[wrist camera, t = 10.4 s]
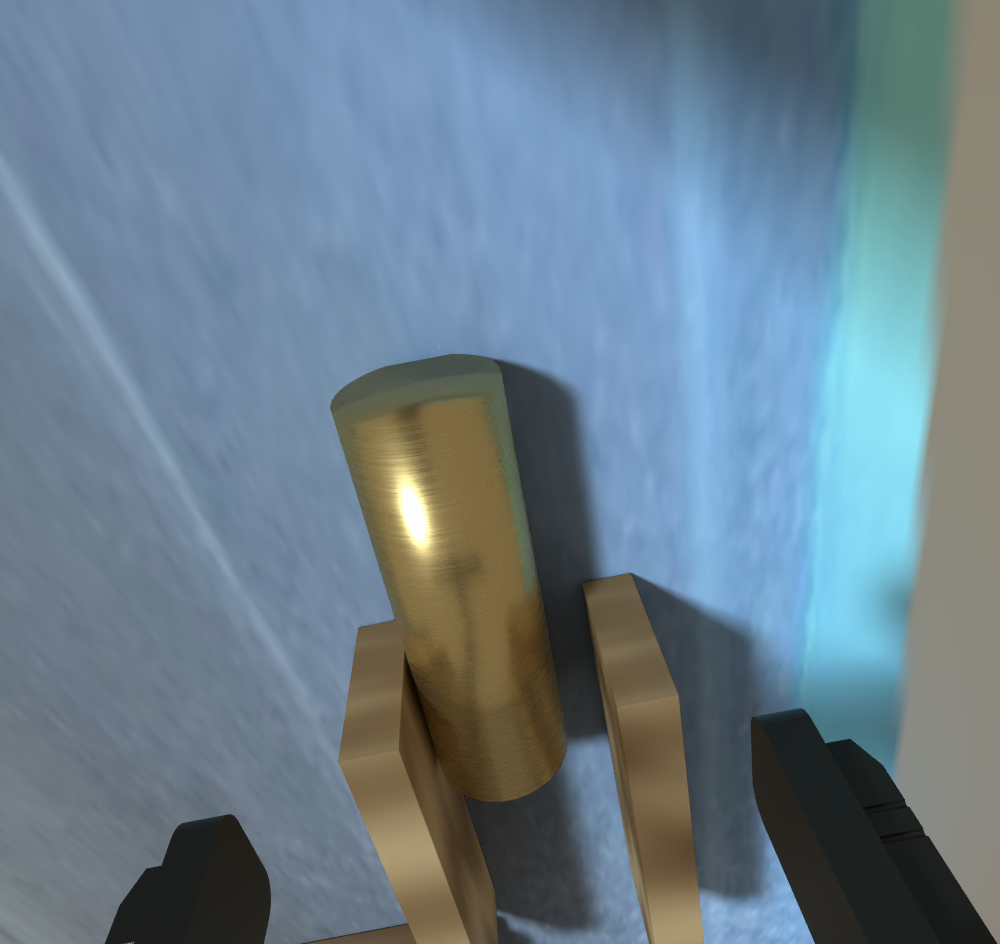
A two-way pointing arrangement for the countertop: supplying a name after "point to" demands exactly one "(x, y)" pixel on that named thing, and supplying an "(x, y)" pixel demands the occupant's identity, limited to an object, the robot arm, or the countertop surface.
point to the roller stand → (376, 937)
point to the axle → (458, 566)
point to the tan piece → (443, 810)
